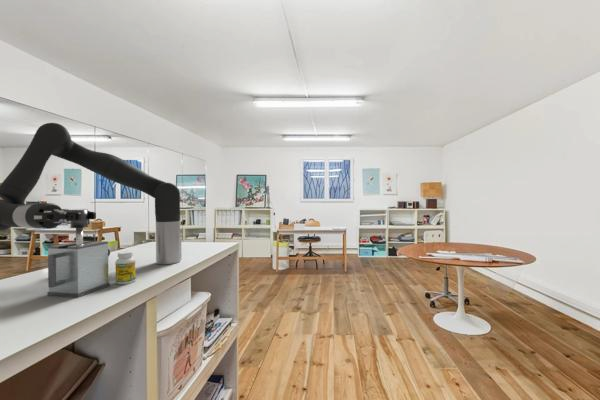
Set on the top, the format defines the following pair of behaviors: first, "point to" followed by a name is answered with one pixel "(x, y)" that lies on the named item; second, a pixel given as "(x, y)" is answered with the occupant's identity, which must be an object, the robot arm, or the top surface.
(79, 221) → the dark grey knob handle
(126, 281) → the supplement bottle
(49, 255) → the grey box
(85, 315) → the top surface
